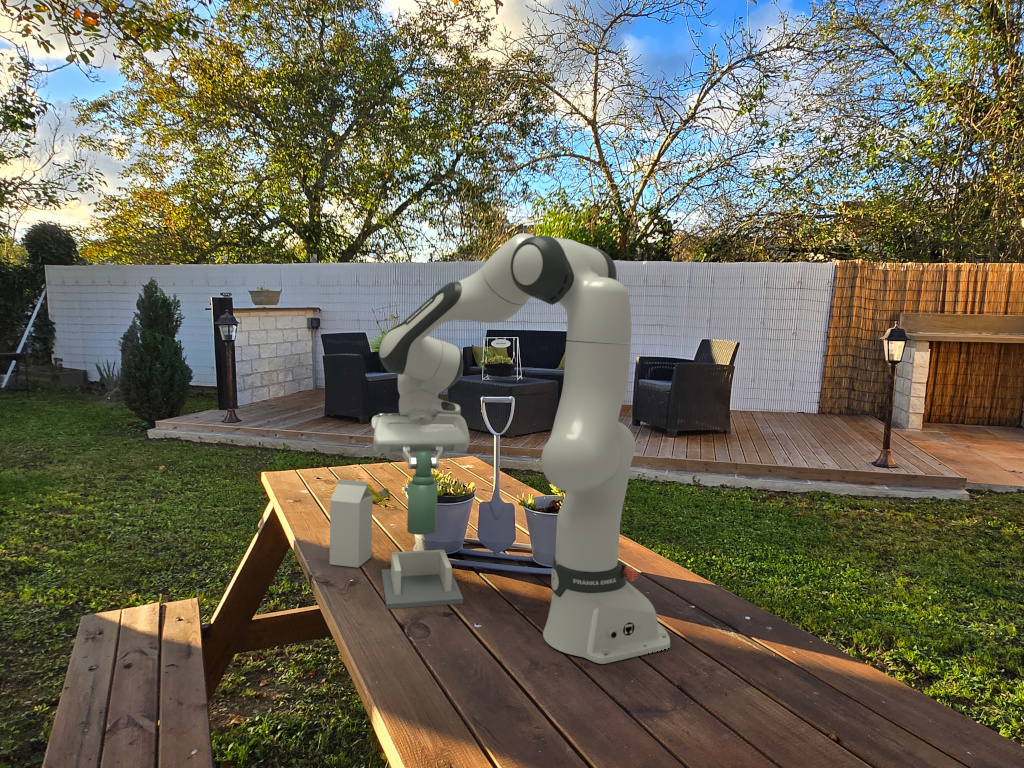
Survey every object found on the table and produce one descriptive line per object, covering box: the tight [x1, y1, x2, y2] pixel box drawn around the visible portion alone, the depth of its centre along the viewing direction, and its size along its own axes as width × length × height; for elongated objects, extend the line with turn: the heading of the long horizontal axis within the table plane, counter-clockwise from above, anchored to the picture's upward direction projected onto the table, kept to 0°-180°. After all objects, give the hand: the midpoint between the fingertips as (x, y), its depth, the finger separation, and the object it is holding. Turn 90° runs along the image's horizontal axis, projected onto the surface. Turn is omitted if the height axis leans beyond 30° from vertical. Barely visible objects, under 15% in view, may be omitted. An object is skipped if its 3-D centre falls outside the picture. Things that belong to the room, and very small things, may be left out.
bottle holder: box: [381, 549, 464, 610], centre depth 134 cm, size 15×18×6 cm
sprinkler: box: [367, 484, 398, 509], centre depth 196 cm, size 19×4×15 cm
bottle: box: [406, 450, 439, 536], centre depth 132 cm, size 6×6×16 cm
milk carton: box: [329, 478, 373, 568], centre depth 147 cm, size 7×7×19 cm
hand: (423, 467), depth 131 cm, fingers closed on bottle, 3 cm apart
